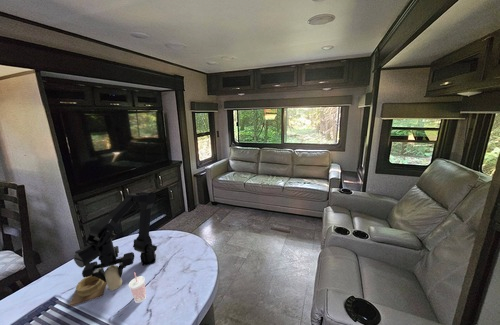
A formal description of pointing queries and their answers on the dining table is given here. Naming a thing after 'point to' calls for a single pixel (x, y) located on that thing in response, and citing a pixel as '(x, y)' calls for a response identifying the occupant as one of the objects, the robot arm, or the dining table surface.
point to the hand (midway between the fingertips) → (113, 279)
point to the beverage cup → (138, 288)
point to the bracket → (88, 290)
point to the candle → (113, 277)
